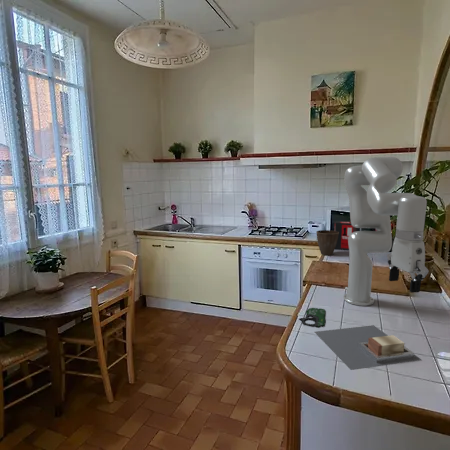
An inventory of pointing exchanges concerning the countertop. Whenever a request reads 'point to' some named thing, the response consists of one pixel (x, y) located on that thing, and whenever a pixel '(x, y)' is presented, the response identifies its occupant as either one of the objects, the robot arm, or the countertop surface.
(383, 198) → the robot arm
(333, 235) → the plant pot
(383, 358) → the metal frame
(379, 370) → the countertop surface
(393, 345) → the maple block
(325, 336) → the rubber mat
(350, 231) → the cleaning product box
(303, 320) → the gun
